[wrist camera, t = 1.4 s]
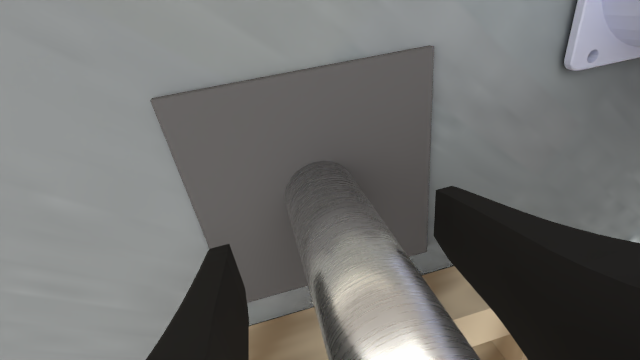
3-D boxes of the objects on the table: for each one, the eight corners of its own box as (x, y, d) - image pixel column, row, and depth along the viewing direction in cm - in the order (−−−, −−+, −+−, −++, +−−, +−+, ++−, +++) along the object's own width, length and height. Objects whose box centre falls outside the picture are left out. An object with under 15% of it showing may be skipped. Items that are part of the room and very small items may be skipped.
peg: (351, 153, 13) (572, 428, 5) (357, 213, 15) (532, 504, 6) (277, 170, 13) (373, 505, 4) (291, 230, 14) (382, 567, 6)
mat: (429, 45, 12) (433, 46, 12) (423, 248, 17) (426, 251, 17) (152, 98, 11) (150, 100, 11) (232, 301, 16) (232, 306, 16)
